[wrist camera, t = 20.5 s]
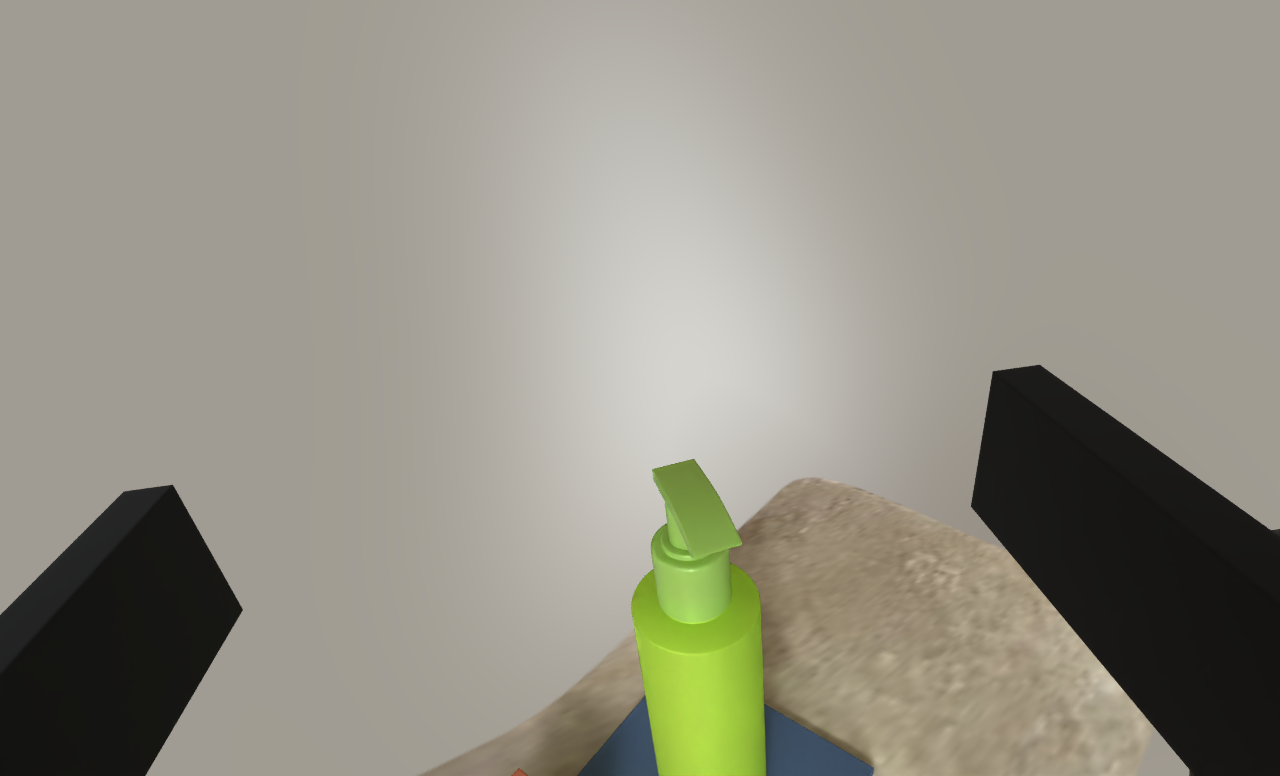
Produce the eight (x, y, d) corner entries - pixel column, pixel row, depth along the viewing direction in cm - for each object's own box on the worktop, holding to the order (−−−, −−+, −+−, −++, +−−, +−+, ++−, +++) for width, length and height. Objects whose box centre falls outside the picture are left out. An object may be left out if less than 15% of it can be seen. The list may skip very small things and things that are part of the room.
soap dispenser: (684, 866, 32) (638, 562, 23) (646, 739, 38) (598, 457, 29) (794, 826, 33) (793, 519, 24) (741, 709, 39) (724, 426, 30)
